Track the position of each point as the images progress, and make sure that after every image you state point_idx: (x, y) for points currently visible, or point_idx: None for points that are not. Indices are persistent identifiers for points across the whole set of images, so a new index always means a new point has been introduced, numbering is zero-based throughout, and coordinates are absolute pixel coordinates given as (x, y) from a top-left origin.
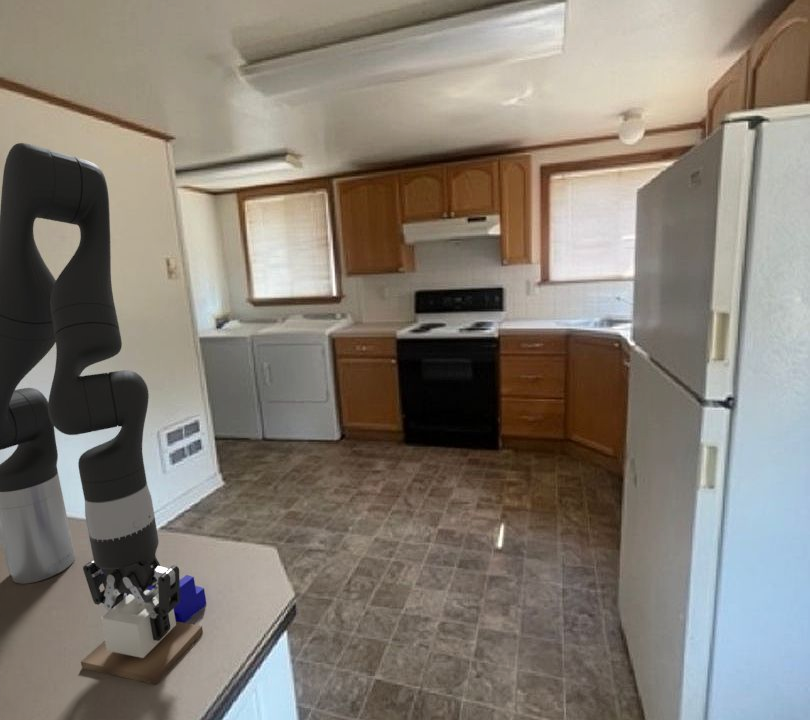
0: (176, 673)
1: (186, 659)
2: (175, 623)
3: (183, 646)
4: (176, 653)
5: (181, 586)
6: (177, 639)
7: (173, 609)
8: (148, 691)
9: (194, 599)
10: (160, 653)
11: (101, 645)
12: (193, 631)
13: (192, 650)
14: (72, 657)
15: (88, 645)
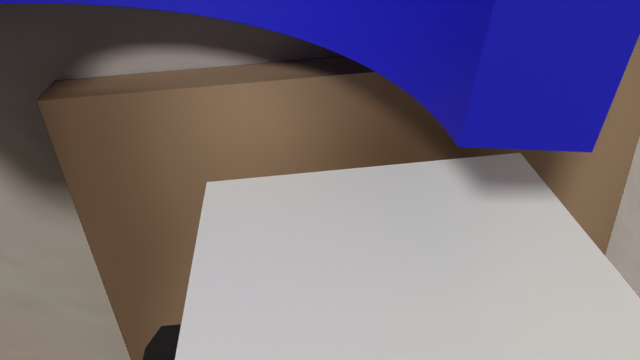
0: (620, 273)
1: (629, 210)
2: (523, 162)
3: (617, 207)
4: (604, 250)
5: (612, 85)
6: (550, 182)
7: (584, 234)
8: None
9: None
10: None
11: (134, 328)
12: (625, 106)
13: (633, 160)
14: (32, 356)
15: (14, 296)
